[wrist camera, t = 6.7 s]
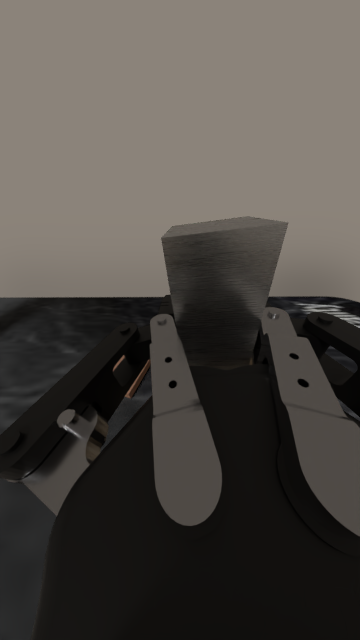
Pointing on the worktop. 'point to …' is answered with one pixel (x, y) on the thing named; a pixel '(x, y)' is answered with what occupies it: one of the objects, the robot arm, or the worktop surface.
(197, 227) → the grey tapered block
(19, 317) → the worktop surface
